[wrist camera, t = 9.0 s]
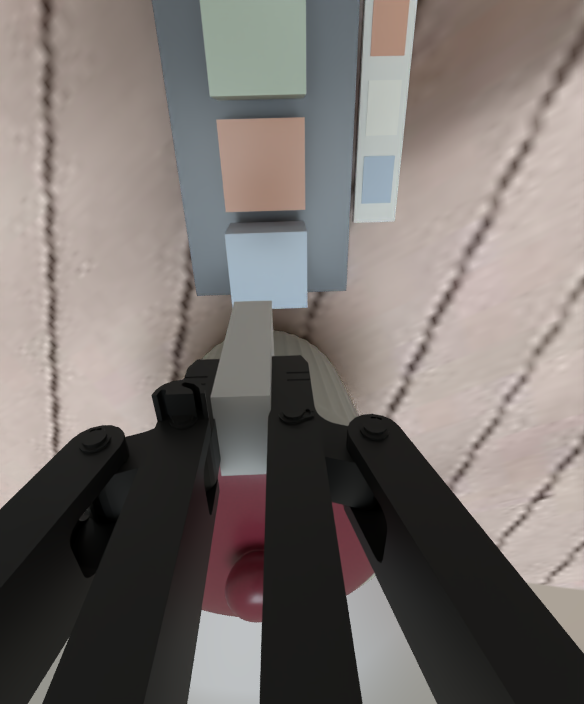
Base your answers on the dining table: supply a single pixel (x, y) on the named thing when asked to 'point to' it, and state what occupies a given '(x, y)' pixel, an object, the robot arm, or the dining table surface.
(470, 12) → the dining table surface
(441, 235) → the dining table surface
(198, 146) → the keypad board
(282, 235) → the key blue
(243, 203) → the key terracotta
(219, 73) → the key sage
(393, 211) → the card
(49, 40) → the dining table surface
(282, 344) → the canister
